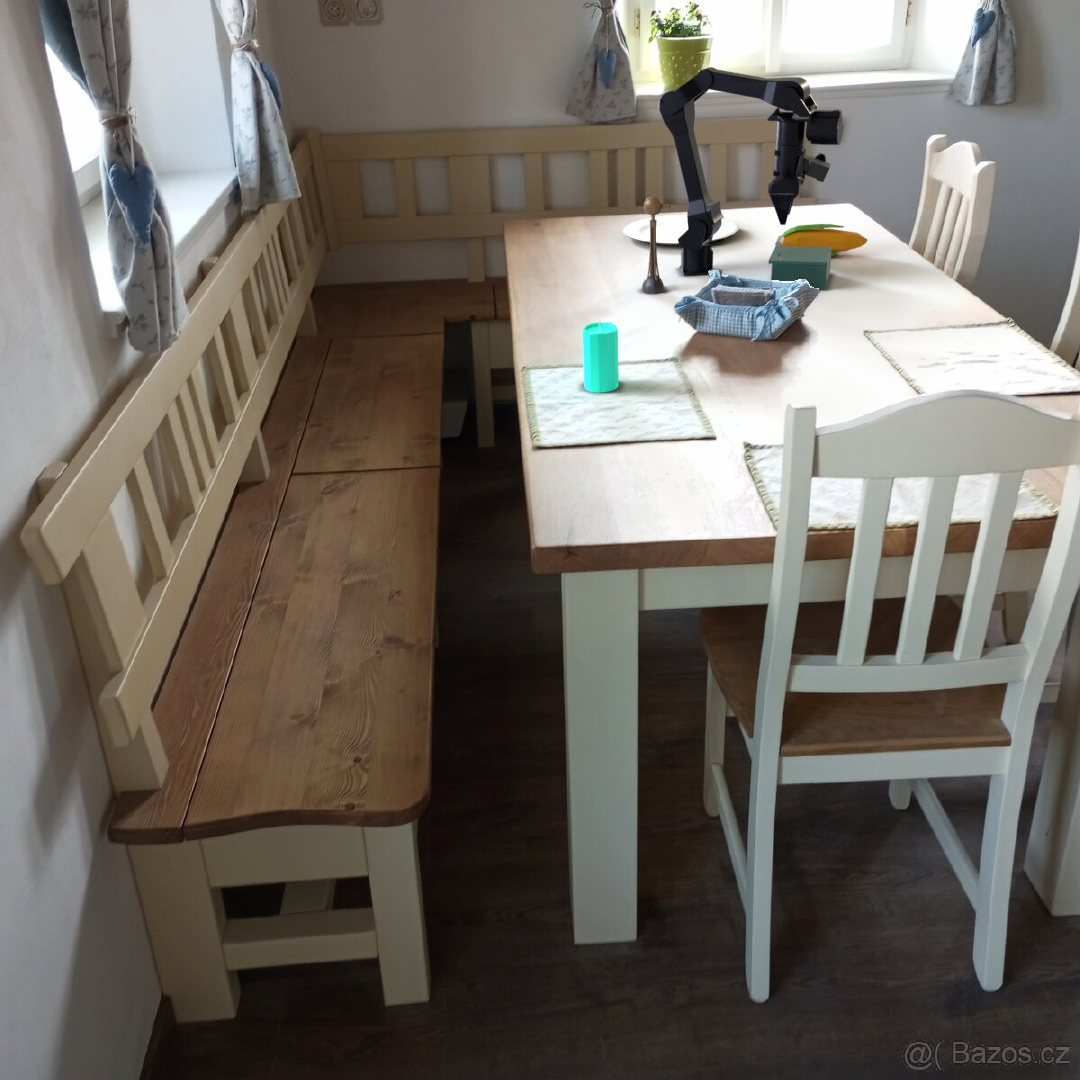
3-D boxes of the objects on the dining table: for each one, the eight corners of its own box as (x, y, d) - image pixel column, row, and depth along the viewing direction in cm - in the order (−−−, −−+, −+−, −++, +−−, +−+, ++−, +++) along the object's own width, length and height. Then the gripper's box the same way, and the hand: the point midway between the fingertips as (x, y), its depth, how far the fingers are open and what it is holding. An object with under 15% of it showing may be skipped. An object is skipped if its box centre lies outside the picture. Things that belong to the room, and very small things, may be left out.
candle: (597, 377, 193) (596, 311, 187) (625, 384, 190) (624, 317, 184) (577, 388, 189) (574, 321, 183) (605, 395, 186) (603, 326, 180)
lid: (768, 263, 233) (769, 245, 231) (775, 248, 243) (776, 231, 241) (827, 265, 229) (828, 247, 227) (831, 250, 240) (833, 232, 238)
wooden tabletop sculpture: (670, 287, 239) (671, 194, 229) (666, 294, 235) (667, 199, 225) (644, 287, 240) (643, 194, 231) (639, 293, 237) (639, 198, 227)
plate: (756, 227, 282) (756, 219, 282) (709, 254, 261) (709, 246, 260) (655, 218, 297) (655, 211, 296) (603, 243, 275) (602, 236, 275)
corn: (779, 219, 256) (866, 217, 254) (777, 251, 260) (863, 249, 258) (781, 229, 250) (871, 227, 248) (779, 261, 254) (867, 260, 252)
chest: (770, 288, 235) (772, 264, 233) (777, 272, 245) (778, 249, 243) (825, 290, 232) (826, 265, 229) (829, 274, 242) (831, 250, 240)
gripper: (826, 152, 217) (820, 231, 225) (832, 136, 233) (826, 210, 241) (770, 151, 220) (765, 229, 228) (779, 136, 236) (775, 209, 244)
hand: (785, 219), depth 235 cm, fingers open, 9 cm apart
